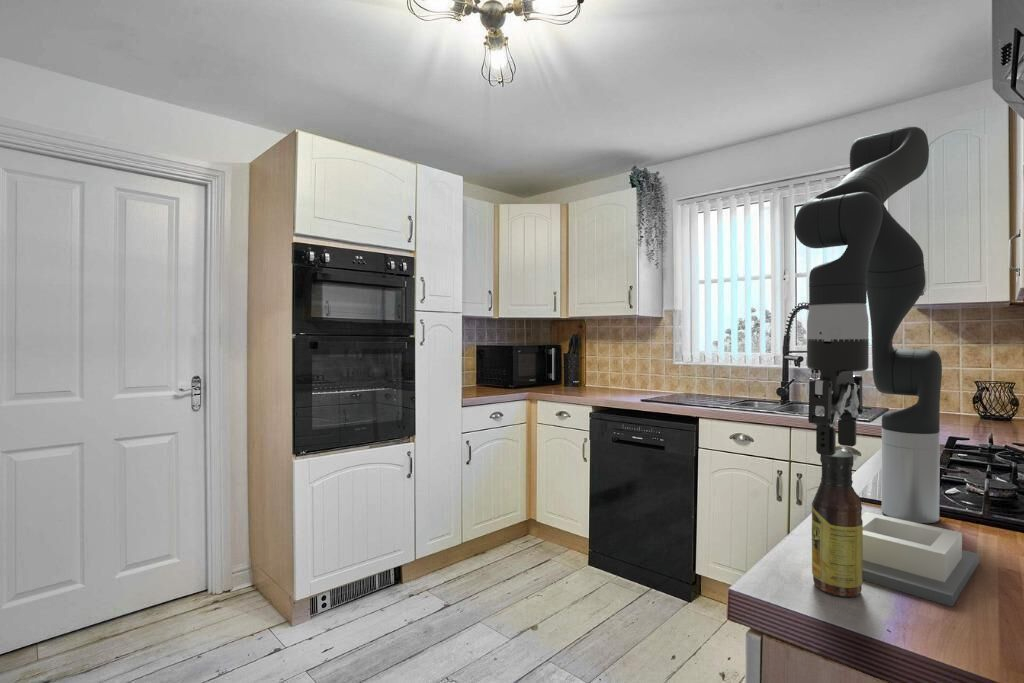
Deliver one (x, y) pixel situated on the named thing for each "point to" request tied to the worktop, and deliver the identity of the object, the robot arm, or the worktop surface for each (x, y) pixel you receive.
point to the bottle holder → (915, 558)
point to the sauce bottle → (837, 529)
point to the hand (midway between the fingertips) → (836, 449)
